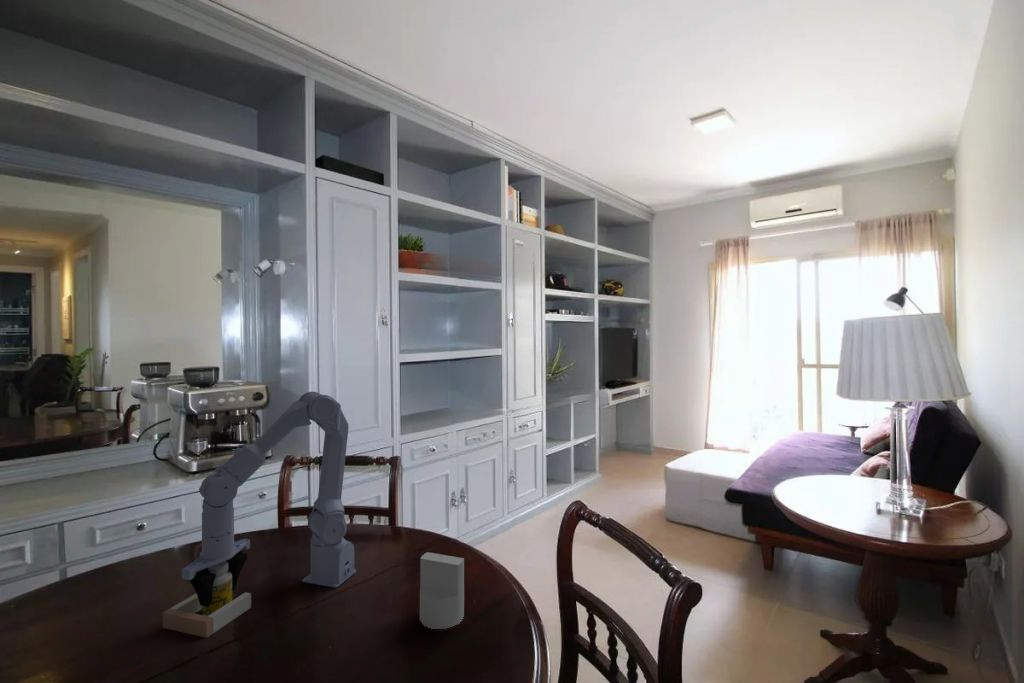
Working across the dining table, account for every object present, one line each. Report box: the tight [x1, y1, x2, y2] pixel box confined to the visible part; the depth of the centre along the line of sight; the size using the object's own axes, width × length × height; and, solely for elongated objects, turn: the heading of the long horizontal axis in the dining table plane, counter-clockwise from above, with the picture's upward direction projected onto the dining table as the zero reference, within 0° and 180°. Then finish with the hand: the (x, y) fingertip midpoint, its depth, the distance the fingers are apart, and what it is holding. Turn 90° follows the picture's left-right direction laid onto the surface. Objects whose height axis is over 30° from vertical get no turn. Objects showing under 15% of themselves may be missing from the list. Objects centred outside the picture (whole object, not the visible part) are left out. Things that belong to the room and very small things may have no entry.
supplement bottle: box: [201, 561, 233, 616], centre depth 99 cm, size 5×5×10 cm
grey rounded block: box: [419, 552, 465, 630], centre depth 97 cm, size 9×9×12 cm
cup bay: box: [162, 591, 252, 638], centre depth 96 cm, size 11×10×3 cm
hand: (218, 597), depth 99 cm, fingers closed on supplement bottle, 5 cm apart
